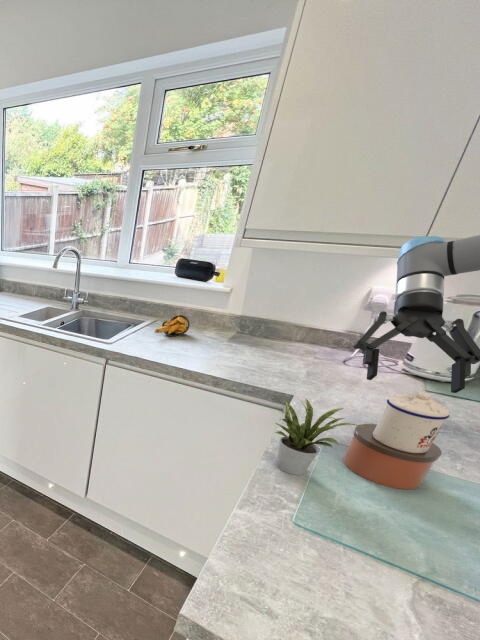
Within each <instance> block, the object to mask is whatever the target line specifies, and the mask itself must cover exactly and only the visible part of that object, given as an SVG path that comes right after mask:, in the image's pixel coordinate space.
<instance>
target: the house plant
mask: <svg viewBox="0 0 480 640" xmlns="http://www.w3.org/2000/svg"><path fill="white" fill-rule="evenodd" d="M282 400H283V402H284V403H285V405H286V406H285V411H284V412H283V411H281V410H279V412H280V413H282V414H284V418H282V419H280V418H279V421H283V422H284V423H286V426H287V427H286V426H284V425H282V424H280V423H278V422H275V424H276V425H277V426H278V427H280V428H281V429H282V430H283V431H285V432H286V433H287V434H288V435H286V434H285V433H284V432H283V431H279V430H278V431H274V432H273V434H278V435H281V436H282V437H280V438H279V442H278V449H277V457H276V463H275V465H276V467H277V468H278V469H279V470H281V471H283V472H285V473H287V474H289V475H294V476H302V475H304V474H305V473H306V471H307V470H308V468H309V467H310V465H311V464H312V463H313V461H314V460H315V458H316V457H317V456H318V454H319V453H320V448H319V446H317V445H320V446H325V447H329V448H332V449H333V450H335V448H334V447H333V445H332V444H331V443H334V444H336V445H339V442H338V440H336V439H335V438H333V437H322V438H319V439H316V438H317V437H318V436H320V435H321V434H322V433H325V432H326V431H329V430H333V429H335V428H337V427H343V426H355V427H356V426H360V425H361V424H357V423H352V422H341V423H338V421H340V420H344V419H345V417H338V418H335V417H333V416H332V415H334V414H335V413H337V412H339V411H342V410H344V409H345V408H344V407H341V408H335V409H334V408H333V409H331V410H328V411H327V412H325V413H323V414H322V415H321V416H319V417H318V419H317V420H316V421H315V422H314V423H313V425H312V422H313V416H314V408H313V406H312V405H311V403H310V401H309V399H307V398H305V403H304V402H303V401H302V400H300V402H301V403H302V404H303V407H304V409H305V418H304V422H302V423H301V424H300V422H299V418H298V415H297V412H296V410H295V409H294V408H293V406H291V404H290V403H289V402H288V401H286V400H284V399H282ZM305 404H306V405H305ZM327 419H332V420H330V421H328V422H327V423H325V424H324V425H323V426H321V427H319V426H320V425H321V424H322V423H323V422H324V421H326V420H327ZM361 427H363V426H361ZM315 439H316V440H315ZM314 440H315V441H314Z"/></svg>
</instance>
